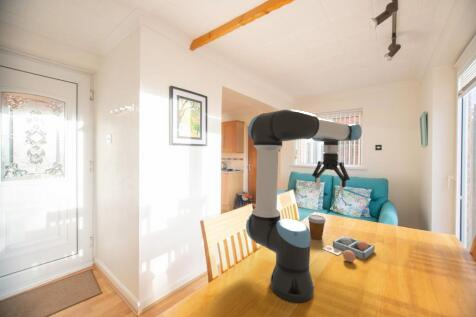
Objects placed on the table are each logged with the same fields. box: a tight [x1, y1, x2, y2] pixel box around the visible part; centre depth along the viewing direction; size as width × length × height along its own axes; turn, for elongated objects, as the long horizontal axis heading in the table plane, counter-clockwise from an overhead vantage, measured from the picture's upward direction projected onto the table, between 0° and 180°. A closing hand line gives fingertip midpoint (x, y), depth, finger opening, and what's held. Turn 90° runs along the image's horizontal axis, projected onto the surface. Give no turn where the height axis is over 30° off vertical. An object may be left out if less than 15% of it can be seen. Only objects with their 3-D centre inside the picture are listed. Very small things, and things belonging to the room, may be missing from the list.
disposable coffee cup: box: [307, 214, 326, 241], centre depth 116 cm, size 10×10×12 cm
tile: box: [321, 245, 344, 256], centre depth 101 cm, size 6×8×1 cm
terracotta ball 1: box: [342, 250, 356, 263], centre depth 91 cm, size 5×5×5 cm
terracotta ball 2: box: [357, 240, 369, 252], centre depth 102 cm, size 5×5×5 cm
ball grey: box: [341, 236, 352, 246], centre depth 106 cm, size 5×5×5 cm
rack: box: [332, 235, 375, 260], centre depth 103 cm, size 13×15×3 cm
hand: (329, 191), depth 112 cm, fingers open, 13 cm apart
